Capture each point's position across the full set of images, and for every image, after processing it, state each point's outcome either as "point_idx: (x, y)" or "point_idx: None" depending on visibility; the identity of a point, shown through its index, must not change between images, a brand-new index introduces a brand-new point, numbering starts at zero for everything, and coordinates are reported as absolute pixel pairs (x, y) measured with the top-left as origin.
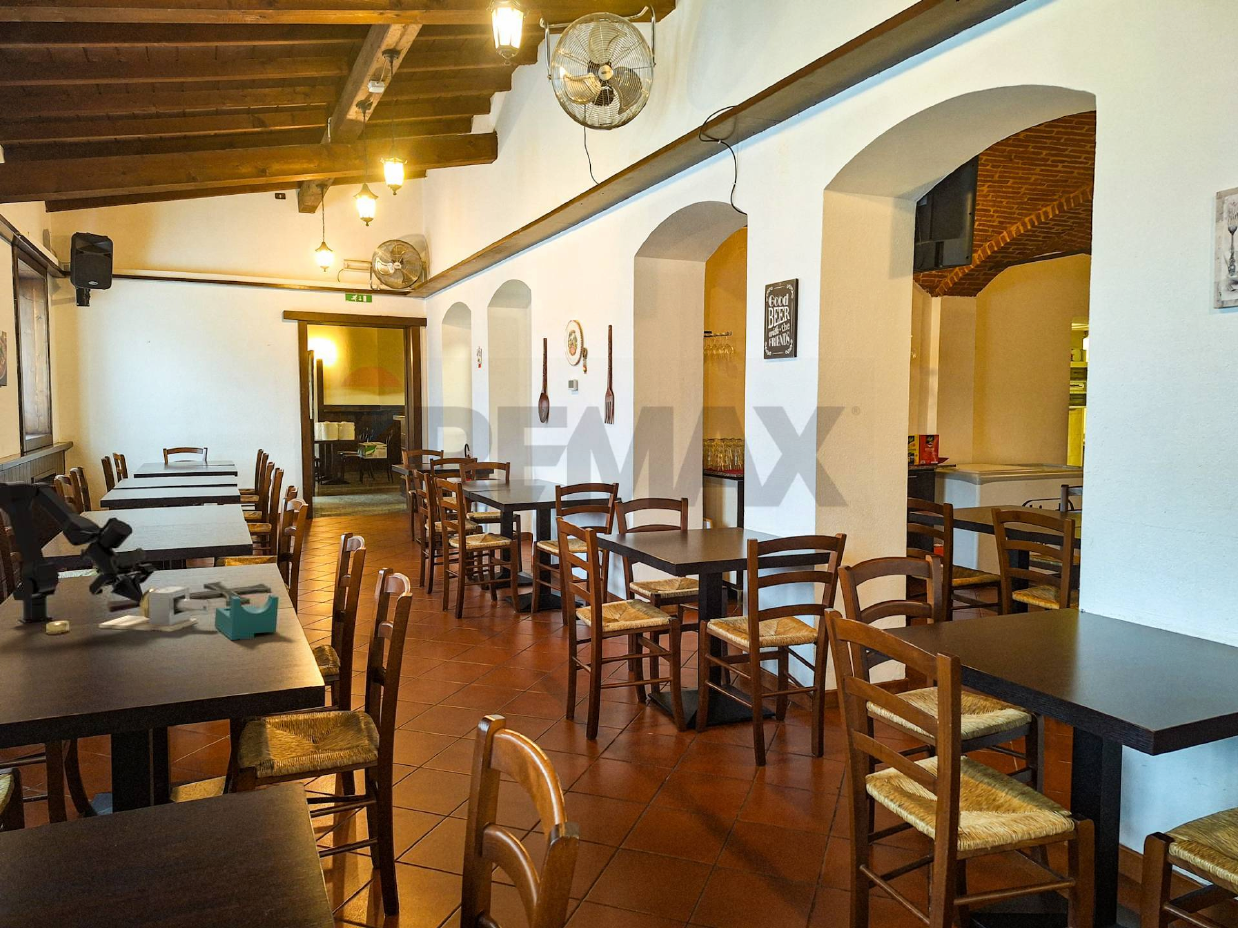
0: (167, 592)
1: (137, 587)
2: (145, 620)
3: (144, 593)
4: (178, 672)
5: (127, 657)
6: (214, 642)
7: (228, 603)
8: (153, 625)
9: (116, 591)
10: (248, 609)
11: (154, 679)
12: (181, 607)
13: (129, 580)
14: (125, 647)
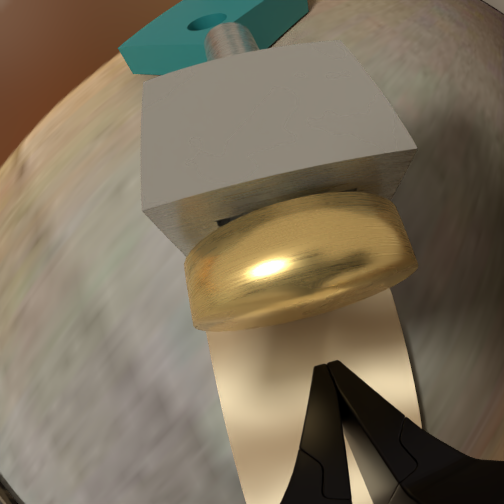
0: (333, 52)
1: (345, 461)
2: (297, 371)
3: (397, 255)
4: (446, 7)
5: (495, 85)
6: (334, 24)
7: None
8: None
9: None
10: (177, 19)
11: (473, 17)
12: None
13: (478, 488)
14: (491, 136)
